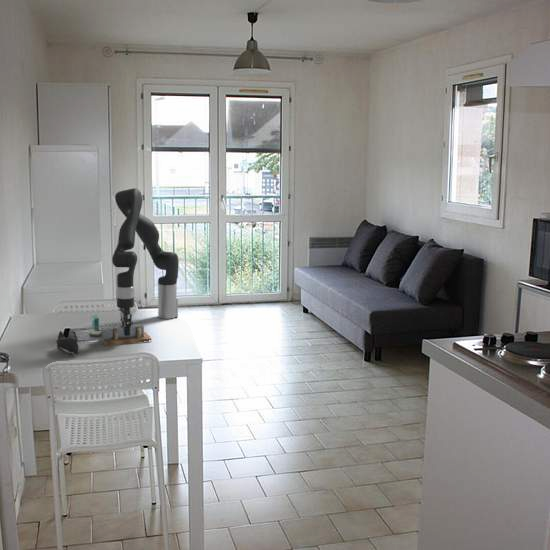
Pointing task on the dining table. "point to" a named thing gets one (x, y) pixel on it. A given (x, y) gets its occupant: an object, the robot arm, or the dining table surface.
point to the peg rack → (127, 339)
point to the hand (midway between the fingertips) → (126, 333)
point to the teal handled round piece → (95, 326)
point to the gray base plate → (90, 337)
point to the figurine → (67, 344)
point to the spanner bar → (120, 332)
